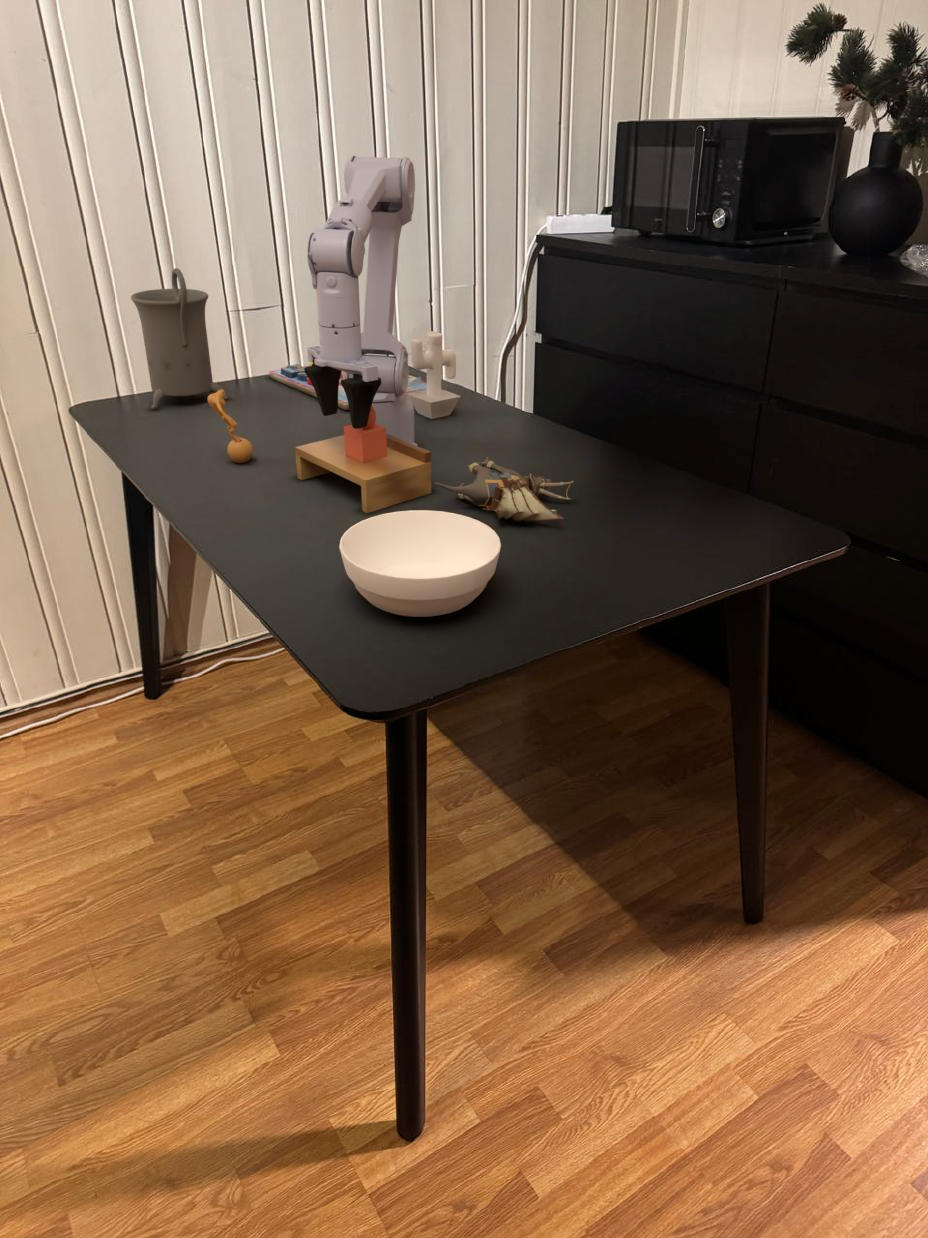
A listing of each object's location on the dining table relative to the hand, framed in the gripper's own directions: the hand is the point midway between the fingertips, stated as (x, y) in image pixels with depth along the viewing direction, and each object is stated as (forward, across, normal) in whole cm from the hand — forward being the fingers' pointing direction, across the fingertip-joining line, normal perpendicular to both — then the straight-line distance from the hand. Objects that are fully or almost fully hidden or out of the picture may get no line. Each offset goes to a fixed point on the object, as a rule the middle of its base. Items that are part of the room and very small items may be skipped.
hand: (344, 420), depth 126 cm
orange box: (+5, +2, +2) cm, 6 cm away
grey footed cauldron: (+11, -57, +2) cm, 58 cm away
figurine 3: (+10, +23, +12) cm, 28 cm away
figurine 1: (+10, -20, -8) cm, 24 cm away
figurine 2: (+11, -20, +34) cm, 41 cm away
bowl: (+10, +34, -13) cm, 38 cm away
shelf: (+10, +1, +2) cm, 11 cm away
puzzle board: (+11, -46, +34) cm, 58 cm away
